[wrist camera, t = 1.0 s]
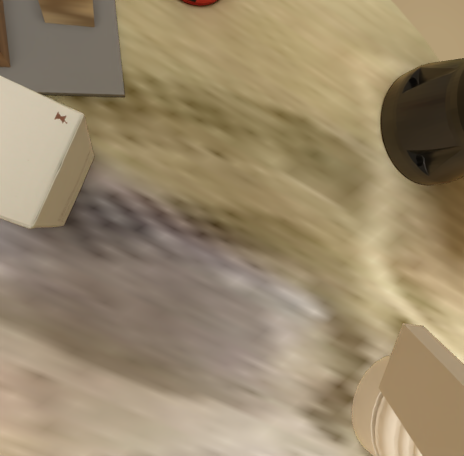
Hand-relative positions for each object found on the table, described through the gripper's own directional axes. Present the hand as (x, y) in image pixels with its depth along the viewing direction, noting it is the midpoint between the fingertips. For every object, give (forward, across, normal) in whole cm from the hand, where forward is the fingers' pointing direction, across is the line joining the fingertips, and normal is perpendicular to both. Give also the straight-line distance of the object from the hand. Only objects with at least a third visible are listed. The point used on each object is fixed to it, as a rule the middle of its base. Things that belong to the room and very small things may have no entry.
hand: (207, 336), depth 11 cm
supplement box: (+22, +15, +1) cm, 26 cm away
